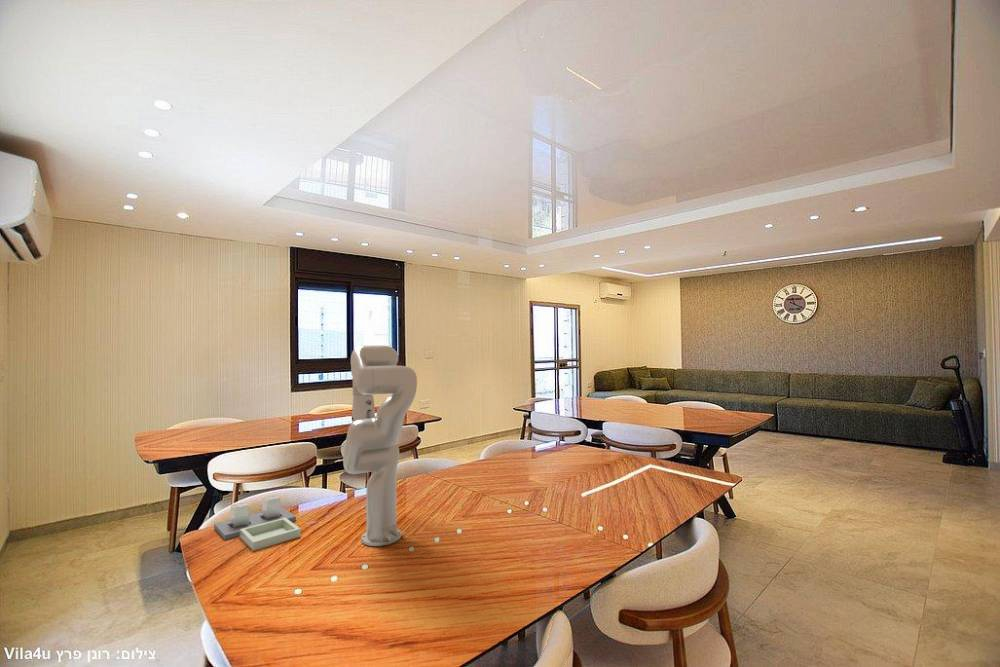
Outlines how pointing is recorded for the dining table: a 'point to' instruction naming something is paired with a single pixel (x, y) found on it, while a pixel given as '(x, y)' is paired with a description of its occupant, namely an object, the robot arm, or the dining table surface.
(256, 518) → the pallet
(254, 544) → the tray
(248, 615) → the dining table surface
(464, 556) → the dining table surface
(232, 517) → the block
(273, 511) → the block
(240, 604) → the dining table surface
